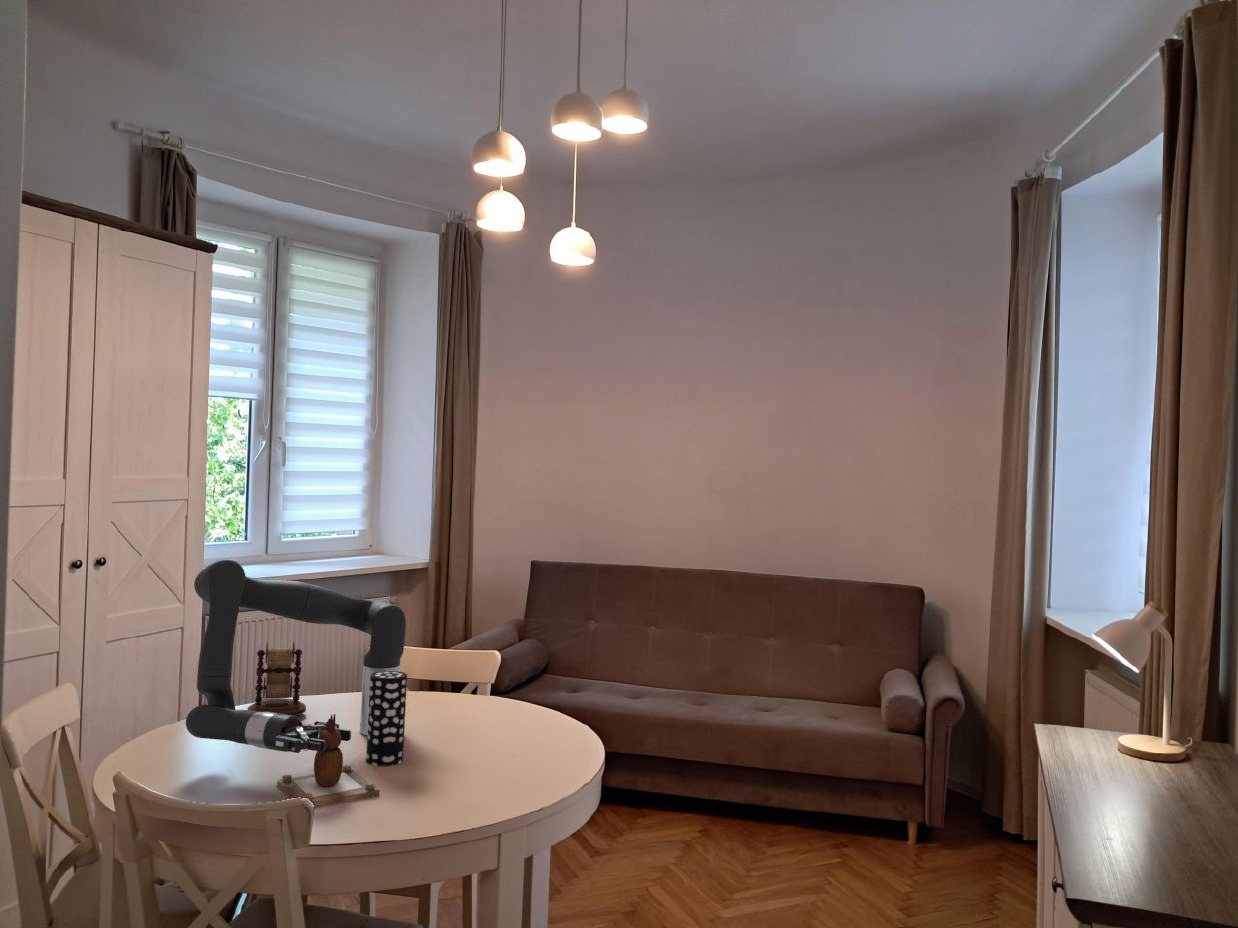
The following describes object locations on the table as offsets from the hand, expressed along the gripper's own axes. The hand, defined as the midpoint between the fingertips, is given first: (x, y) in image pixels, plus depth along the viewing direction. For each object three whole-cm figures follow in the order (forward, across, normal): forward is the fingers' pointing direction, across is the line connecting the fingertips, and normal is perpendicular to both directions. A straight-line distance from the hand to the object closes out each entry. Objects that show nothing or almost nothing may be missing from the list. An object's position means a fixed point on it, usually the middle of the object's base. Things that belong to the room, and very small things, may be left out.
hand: (338, 740), depth 189 cm
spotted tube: (-2, +22, +11) cm, 25 cm away
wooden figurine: (-2, 0, +9) cm, 10 cm away
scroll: (-48, +42, +11) cm, 65 cm away
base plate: (-2, 0, +11) cm, 11 cm away
